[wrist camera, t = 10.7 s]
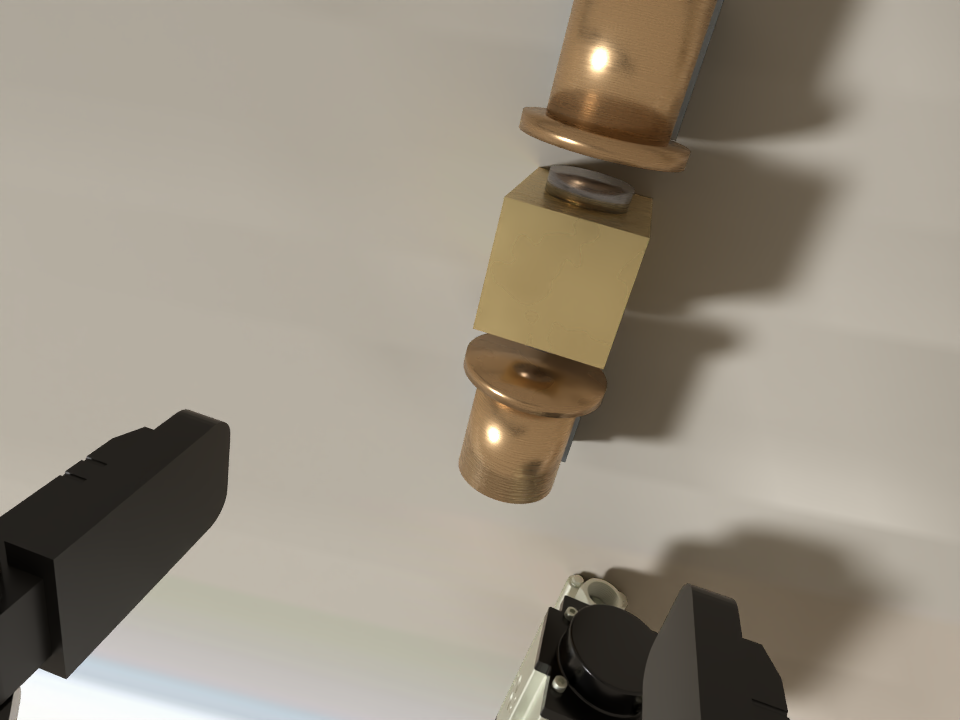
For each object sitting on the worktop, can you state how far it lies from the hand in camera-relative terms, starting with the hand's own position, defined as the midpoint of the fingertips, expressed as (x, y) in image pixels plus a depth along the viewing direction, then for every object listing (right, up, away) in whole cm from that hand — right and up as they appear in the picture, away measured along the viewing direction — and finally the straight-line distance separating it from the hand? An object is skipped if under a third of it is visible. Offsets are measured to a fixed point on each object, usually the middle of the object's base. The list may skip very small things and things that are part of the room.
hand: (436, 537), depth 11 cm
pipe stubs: (+5, +8, +18) cm, 20 cm away
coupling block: (+5, +8, +18) cm, 21 cm away
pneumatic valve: (+7, -11, +26) cm, 29 cm away
